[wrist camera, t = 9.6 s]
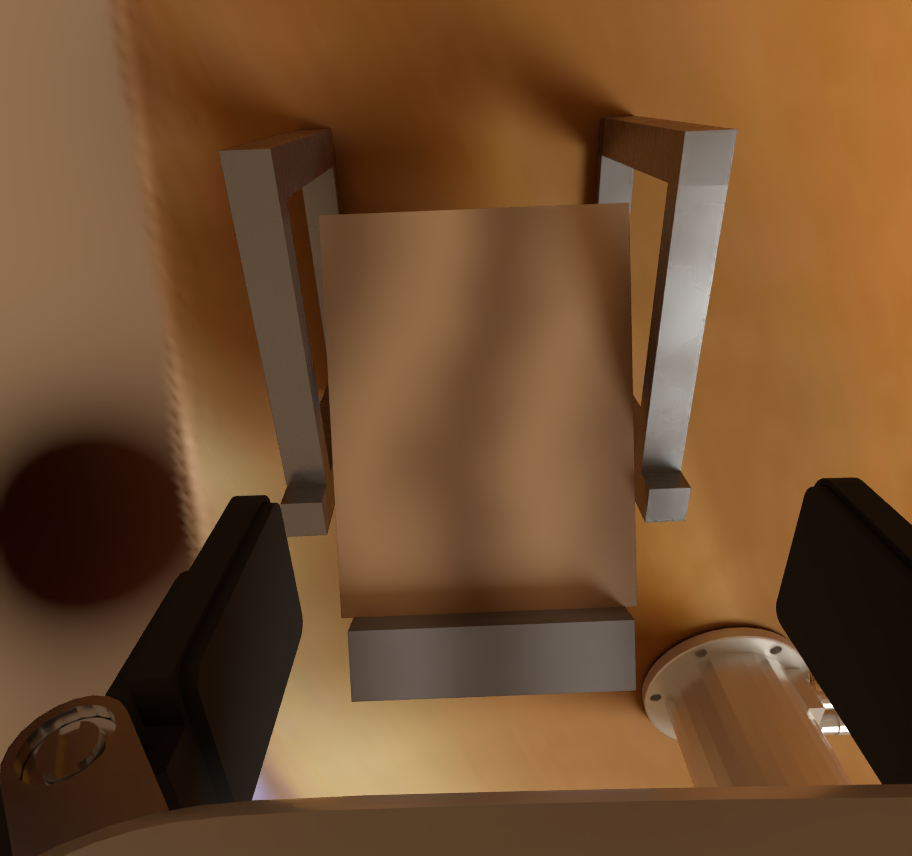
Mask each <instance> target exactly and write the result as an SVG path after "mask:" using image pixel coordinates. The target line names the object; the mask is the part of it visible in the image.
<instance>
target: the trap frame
mask: <svg viewBox="0 0 912 856" xmlns="http://www.w3.org/2000/svg"><path fill="white" fill-rule="evenodd" d="M736 134H737V129H731V128H723V127H716V126H708V125H700V124H693V123H685V122H678V121H670V120H662V119H655V118H647V117H640V116H619V117H601V122H600V136H599V151H598V165H597V180H596V194H595V204H607V203H629V219H630V208H631V198H632V187H633V177H634V169H636V170H638V171H641V172H643V173H646V174H648V175H651V176H653V177H655V178H658V179H660V180H663V181H665V182H668V188H667V196H666V204H665V212H664V221H663V229H662V237H661V245H660V254H659V262H658V270H657V278H656V286H655V295H654V303H653V311H652V319H651V327H650V336H649V344H648V352H647V360H646V368H645V377H644V385H643V393H642V401H641V407H640V405H639V403H638V402H637V400H636V399H635V397H634V395H633V430H634V482H635V502H636V504H637V506H638V508H639V510H640V512H641V514H642V517H643V519H644V521H645V522H665V521H685V518H686V512H687V507H688V501H689V496H690V490H691V487H690V485H689V484H688V482H687V481H686V479H685V477H684V476H683V474H682V473H681V465H682V459H683V453H684V447H685V441H686V435H687V429H688V423H689V417H690V411H691V405H692V399H693V393H694V387H695V381H696V375H697V369H698V363H699V357H700V350H701V344H702V338H703V332H704V326H705V320H706V314H707V308H708V302H709V296H710V290H711V284H712V278H713V272H714V266H715V260H716V254H717V248H718V242H719V236H720V230H721V224H722V218H723V212H724V206H725V200H726V194H727V188H728V182H729V176H730V170H731V164H732V158H733V152H734V146H735V140H736ZM219 155H220V160H221V165H222V170H223V175H224V180H225V185H226V190H227V194H228V199H229V204H230V209H231V214H232V219H233V224H234V229H235V234H236V239H237V243H238V248H239V253H240V258H241V263H242V268H243V273H244V278H245V283H246V288H247V292H248V297H249V302H250V307H251V312H252V317H253V322H254V327H255V332H256V336H257V341H258V346H259V351H260V356H261V361H262V366H263V371H264V376H265V381H266V385H267V390H268V395H269V400H270V405H271V410H272V415H273V420H274V425H275V430H276V434H277V439H278V444H279V449H280V454H281V459H282V464H283V469H284V474H285V479H286V483H287V489H286V491H285V494H284V496H283V499H282V501H281V504H280V505H281V510H282V515H283V519H284V524H285V529H286V533H287V537H291V536H316V535H327V533H328V529H329V525H330V522H331V518H332V514H333V510H334V506H335V492H334V474H333V456H332V439H331V421H330V403H329V385H327V387H326V390H325V392H324V395H323V397H322V400H321V403H320V404H319V398H318V391H317V385H316V379H315V373H314V367H313V360H312V354H311V348H310V342H309V335H308V329H307V323H306V317H305V311H304V304H303V298H302V292H301V286H300V279H299V273H298V267H297V261H296V255H295V248H294V242H293V236H292V230H291V224H290V217H289V211H288V205H287V198H288V197H289V196H291V195H292V194H294V193H295V192H297V191H298V190H300V189H301V188H302V191H303V197H304V204H305V211H306V218H307V224H308V231H309V238H310V245H311V251H312V258H313V265H314V272H315V278H316V285H317V292H318V299H319V305H320V312H321V319H322V326H323V332H324V339H325V346H326V331H325V313H324V296H323V278H322V260H321V242H320V224H319V215H341V207H340V199H339V191H338V182H337V174H336V166H335V158H334V149H333V141H332V133H331V129H307V130H295V131H291V132H288V133H284V134H280V135H276V136H273V137H269V138H265V139H261V140H258V141H254V142H250V143H246V144H243V145H239V146H235V147H231V148H228V149H224V150H220V151H219ZM326 353H327V349H326Z"/></svg>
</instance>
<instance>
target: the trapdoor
mask: <svg viewBox="0 0 912 856" xmlns="http://www.w3.org/2000/svg"><path fill="white" fill-rule="evenodd" d="M319 224H320V242H321V260H322V278H323V296H324V313H325V331H326V349H327V367H328V385H329V403H330V421H331V439H332V456H333V474H334V492H335V510H336V528H337V546H338V564H339V581H340V599H341V617H342V618H353V617H354V618H353V621H352V623H351V625H350V628H349V630H348V644H349V662H350V680H351V698H352V702H359V701H384V700H409V699H434V698H460V697H485V696H510V695H536V694H561V693H586V692H611V691H636V667H635V620H634V619H633V617H632V616H631V615H630V613H629V612H628V611H627V609H626V608H625V607H629V606H637V587H636V534H635V482H634V430H633V377H632V325H631V273H630V221H629V203H607V204H583V205H558V206H534V207H510V208H486V209H462V210H437V211H413V212H389V213H365V214H341V215H319Z"/></svg>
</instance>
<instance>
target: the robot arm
mask: <svg viewBox="0 0 912 856" xmlns="http://www.w3.org/2000/svg"><path fill="white" fill-rule="evenodd" d="M776 612H777V617H778V620H779V622H780V624H781V626H782V628H783V629H784V631H785V632H786V634H787V635H788V637H789V639H790V640H791V642H792V643H791V642H790V641H789V640H788V639H786V638H784V637H782V636H780V635H778V634H776V633H774V632H770V631H767V630H763V629H757V628H747V627H738V628H725V629H719V630H713V631H709V632H706V633H703V634H700V635H696V636H694V637H692V638H690V639H688V640H685V641H683V642H681V643H680V644H678V645H676V646H675V647H673V648H672V649H670V650H669V651H668V652H666V653H665V654H664V655H663V656H662V657H661V658H659V659H658V660H657V662H656V663H655V664H654V665H653V667H652V668H651V669H650V670H649V672H648V674H647V676H646V678H645V680H644V684H643V688H642V701H643V704H644V707H645V710H646V714H647V716H648V718H649V719H650V721H651V723H652V724H653V725H654V726H655V727H656V728H657V729H658V730H659V731H661V732H662V733H664V734H665V735H667V736H669V737H671V738H673V739H676V740H678V743H679V746H680V749H681V751H682V754H683V757H684V760H685V762H686V765H687V768H688V771H689V774H690V776H691V779H692V782H693V785H694V787H695V788H649V789H602V790H556V791H515V792H477V793H440V794H402V795H365V796H342V797H319V798H297V799H274V800H254V801H252V798H253V795H254V791H255V788H256V785H257V781H258V778H259V775H260V771H261V768H262V765H263V761H264V758H265V755H266V751H267V748H268V745H269V741H270V738H271V735H272V731H273V728H274V725H275V721H276V718H277V715H278V712H279V708H280V705H281V702H282V698H283V695H284V692H285V688H286V685H287V682H288V678H289V675H290V672H291V668H292V665H293V662H294V658H295V655H296V652H297V648H298V645H299V642H300V638H301V634H302V626H303V619H302V612H301V607H300V602H299V597H298V592H297V587H296V582H295V577H294V572H293V567H292V562H291V557H290V552H289V547H288V542H287V537H286V532H285V527H284V522H283V517H282V512H281V508H280V505H279V504H278V503H271V502H270V500H269V498H268V497H267V496H266V495H256V496H235V497H233V498H232V499H231V500H230V502H229V503H228V505H227V507H226V509H225V510H224V512H223V514H222V515H221V517H220V519H219V520H218V522H217V524H216V525H215V527H214V529H213V531H212V532H211V534H210V536H209V537H208V539H207V541H206V542H205V544H204V546H203V547H202V549H201V551H200V553H199V554H198V556H197V558H196V559H195V561H194V563H193V564H192V566H191V568H190V569H189V571H185V572H183V573H181V574H180V575H179V576H178V577H177V579H176V580H175V581H174V583H173V585H172V587H171V588H170V590H169V591H168V593H167V595H166V596H165V598H164V600H163V601H162V603H161V605H160V606H159V608H158V609H157V611H156V613H155V614H154V616H153V618H152V619H151V621H150V622H149V624H148V626H147V627H146V629H145V631H144V632H143V634H142V636H141V637H140V639H139V641H138V642H137V644H136V646H135V647H134V649H133V650H132V652H131V654H130V655H129V657H128V659H127V660H126V662H125V664H124V665H123V667H122V668H121V670H120V672H119V673H118V675H117V677H116V679H115V680H114V682H113V684H112V685H111V687H110V688H109V690H108V691H107V693H106V695H105V696H97V695H91V696H86V697H81V698H77V699H73V700H70V701H68V702H65V703H63V704H61V705H58V706H56V707H54V708H52V709H51V710H49V711H47V712H46V713H44V714H43V715H41V716H39V717H38V718H36V719H35V720H34V721H33V722H32V723H31V724H29V725H28V726H27V727H26V728H25V729H24V730H22V731H21V732H20V733H19V735H18V736H17V737H16V739H15V740H14V741H13V742H12V743H11V745H10V746H9V747H8V749H7V751H6V753H5V755H4V758H3V760H2V762H1V764H0V856H912V525H911V524H910V523H909V522H908V521H906V520H905V519H904V518H903V517H902V516H901V515H900V514H899V513H898V512H896V511H895V510H894V509H893V508H892V507H891V506H890V505H889V504H888V503H886V502H885V501H884V500H883V499H882V498H881V497H880V496H879V495H878V494H876V493H875V492H874V491H873V490H872V489H871V488H870V487H869V486H868V485H866V484H865V483H864V482H863V481H862V480H860V479H858V478H822V479H820V480H818V481H817V483H816V484H815V486H814V487H810V488H808V489H807V491H806V493H805V495H804V499H803V503H802V507H801V511H800V514H799V518H798V522H797V526H796V530H795V534H794V537H793V541H792V545H791V549H790V553H789V557H788V560H787V564H786V568H785V572H784V576H783V579H782V583H781V587H780V591H779V595H778V599H777V603H776ZM809 670H810V672H811V673H812V675H813V676H814V678H815V679H816V681H817V683H818V684H819V686H820V687H821V689H822V690H823V691H818V690H817V689H816V688H815V687H811V685H810V684H809V683H810V673H809ZM828 734H834V735H851V736H852V738H853V739H854V741H855V742H856V744H857V745H858V747H859V749H860V750H861V752H862V753H863V755H864V756H865V758H866V760H867V761H868V763H869V764H870V766H871V767H872V769H873V771H874V772H875V774H876V775H877V777H878V778H879V780H880V782H881V783H882V785H853V783H852V781H851V780H850V778H849V776H848V774H847V773H846V771H845V769H844V768H843V766H842V764H841V763H840V761H839V759H838V757H837V756H836V754H835V752H834V751H833V749H832V747H831V746H830V744H829V742H828V740H827V739H826V737H825V735H828Z"/></svg>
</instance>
